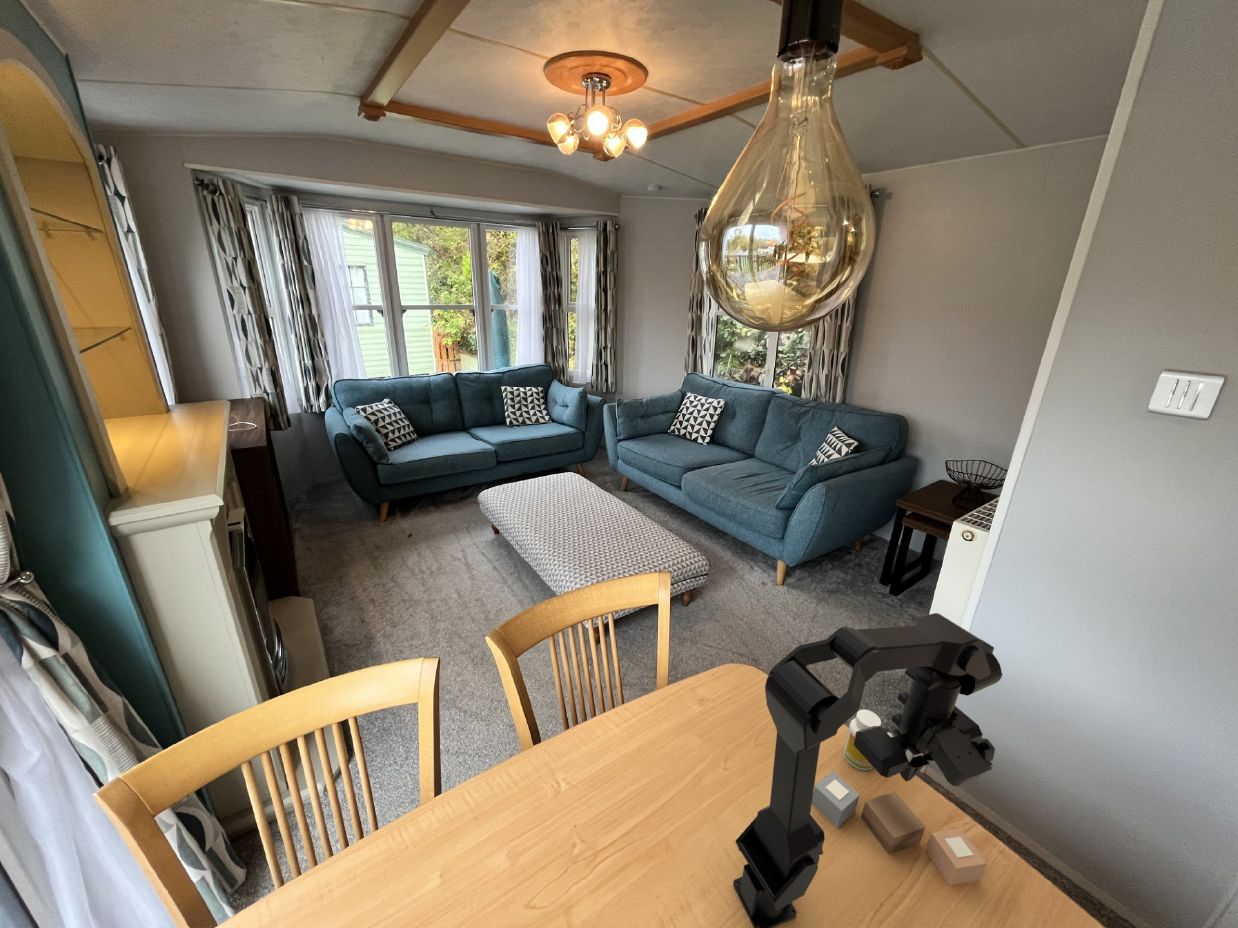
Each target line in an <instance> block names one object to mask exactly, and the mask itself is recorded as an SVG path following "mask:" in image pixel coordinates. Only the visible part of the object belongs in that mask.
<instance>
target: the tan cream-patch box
mask: <svg viewBox="0 0 1238 928" xmlns="http://www.w3.org/2000/svg"><path fill="white" fill-rule="evenodd" d="M925 852H926V853H927V854H928V856H929V857H930V859H931V860H932V861H933V863H934V865H935V867H936V868H937V870H938V871H939V872H940V874H941V875H942V876H943V878H944V880H945V881H946V883H947V884H948V886H950V887H951V886H957V885H964V884H967V883H968V884H969V883H976V882H981V879H982V877H983V874H984V872H985V869H986V867H987V864H988V862H987V861H986V860H985V858H984V857H983V856H982V855H981V853H980V852H979V851H978V849H977V848H976V847H975V845H974V844H973V843H972V842H971V839H969V837H968V836H967V835H966V833H964V831H963V829H962V828H960V827H959V828H954V829H947V830H940V831H934V832H930V835H929V839H928V841H927V845H926V847H925Z"/></svg>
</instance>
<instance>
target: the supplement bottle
mask: <svg viewBox="0 0 1238 928" xmlns="http://www.w3.org/2000/svg"><path fill="white" fill-rule="evenodd" d="M872 726H881V727H882V720H881V718H880V716H878V714H877V713H875V712H874V711H871V710H868V709H859V710H858V711H857V712H856V716H855V718H853V719H851V721H850V723H849V726H848V730H847V733H846V734H847V735H846V737H845V741H844V746H843V756H844V758H845V760H846V761H847V763H848V764H849V765H850V766H852V767H853V768H855V769H857V770H860V771H870V770H872V769H874V767H873V766H872V765H871V764H870V763H869V762H868V761H867V759H866V758H865V757H864V756H863V755H862V754H861V753H860V752H859V750H858V749H857V748H856V747H855V746H854V738H855V735H856V732H857V731H860V730H863V729H866V728H869V727H872Z"/></svg>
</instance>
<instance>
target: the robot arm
mask: <svg viewBox="0 0 1238 928" xmlns="http://www.w3.org/2000/svg"><path fill="white" fill-rule="evenodd" d="M916 619H917V620H916V622H915V624H914V625H912V626H896V627H893V626H892V627H879V628H877V627H876V628H875V627H874V628H873V627H872V628H859V629H858V628H853V627H849V626H847V625H843V626H842V627H840V628H838V629H837V630H835V631H834V632H833V633H832V634H831V635H829V637H827V638H826V639H822V640H817V641H814V642H810V643H806V644H800V645H798V646H796V647H795V648H794V649H793V650H792V651H790V652H789V653H788V654H787V655H786V656H784V658H782V659H781V660H780V661H779V662H777V664H775V665H774V666H773V667H772V669H770V672H769V673H768V676H767V678H766V681H765V686H764V692H765V700H766V706H767V709H768V711H769V714H770V716H771V719H772V721H773V723H774V726H775V728H776V740H775V749H774V757H773V759H774V761H773V770H772V779H771V790H770V801H769V805H767V806H765V807H763V808H761V809H760V810H758V811H757V813H756V814H757V815H756V817H755V818H754V819H753V820H752V821H751V822H750V823H749V824H748V826H747V827H746V828H745V829H744V830H743V831H742V833H741V834H740V835H739V836H738V837H737V838H736V840H735V844H736V847H737V849H738V851H739V852H740V853H741V855H742V857H743V858H744V860H745V861H746V862H747V864H744V865H743V870H742V876H740V877H738V878H735V879H734V880H733V882H732V883H733V884H732V885H733V888H734V890H735V892H736V894H737V896H738V898H739V900H740V902H741V904H742V906H743V908H744V910H745V912H746V915H747V916H748V918H749V920H750V922H751V925H752V926H753V928H758V927H759V928H775V927H777V926H779V925H781V924H784V923H785V922H788V921H791V920H793V919H795V918H796V917H797V910H796V908H795V906H794V905H793V902H795V901H797V900H798V899H800V898H802V897H803V896H805V894H806V892H807V890H808V889H809V887H810V884H811V883H812V881H813V880H814V877H815V876H816V874H817V872H818V870H819V866H818V864H819V861H820V856H821V855H824V851H823V846H824V842H825V839H826V838H825V837H826V835H825V831H824V830H823V829H822V827H821V826H820V824H819V823H818V822H817V821H816V819H815V818H814V817H813V816H812V814H811V809H812V805H813V804H812V797H813V791H814V787H815V781H816V776H817V775H816V774H817V766H818V762H819V761H818V760H819V756H820V748H821V743H822V742H825V741H826V740H829V739H830V738H832V737H834V736H836V735H837V733H838V730H839V729H840V728H841V727H842V726H843V725H844V724H845V723H846V722H847V721H849V720H850V719H851V718H852V717H853V716H855V714H857V712H858V711H859V710H860V707H861V702H862V698H863V694H864V690H865V685H866V683H867V682H868V681H869V680H870V679H871V678H872V677H873V676H875V675H876V674H877V673H879V672H888V671H896V670H897V671H898V670H904V669H905V671H904V674H905V675H906V676H907V677H909V678H910V681H909V685H908V688H907V691H904V692H900V693H898V697H897V700H898V701H899V702H900V703H901V704H902V708H901V711H900V712H899V713H895V714H893V715H892V718H891V721H892V723H894V724H895V726H897V727H898V729H893V730H891V731H888V732H887V731H886V730H885V729H884V728H883V727H882V725H881V726H872V727H869V728H866V729H863V730H860V731H857V732H856V735H855V738H854V746H855V747H856V748H857V749H858V750H859V752H860V753H861V754H862V755H863V756H864V757H865V758H866V759H867V761H868V762H869V763H870V764H871V765H872V766H873V769H874V770H875V771H876V772H877V773H878V774H879V775H880V776H881V777H884V778H886V779H888V778H891V777H893V776H896V775H899V774H900V777H901V778H902V779H903V780H904V782H909V781H911V780H912V779H914V778H915V777H916V775H918V773H919V772H920V771H921V770H922V769H923V768H924V767H925V766H927V765H929V764H930V761H931V762H935V764H936V765H937V767H938V769H939V770H940V771H941V772H942V774H943V775H944V778H945V780H946V781H947V783H949V784H950V785H951V786H953V787H959V786H962V785H964V784H967V783H970V782H972V781H974V780H976V779H977V778H979V777H980V776H982V775H983V774H985V773H987V772H989V771H991V770H992V769H993V767H992V766H993V763H992V762H993V760H994V757H995V751H996V748H995V746H994V745H993V744H992V743H991V741H990V740H989V738H983V735H984V734H983V733H982V730H981V728H980V726H979V725H980V724H978V723H976V721H974V720H973V719H972V718H970V717H969V716H968V715H967V714H966V713H964V712H963V711H962V710H961V709H960V708H958V707H957V706H956V703H957V700H958V697H959V695H963V696H966V697H967V696H971V695H973V694H974V693H975V694H976V693H977V692H980V691H982V690H983V689H986V688H989V687H991V686H993V685H996V684H997V683H998V682H1000V681H1001V679H1002V677H1003V672H1002V667H1001V664H1000V661H999V660H998V658H997V657H996V656H995V655H994V654H993V653H994V650H995V647H994V646H993V645H991V644H989V642H988V643H987V642H986V641H984V640H983V639H981V638H980V637H977V636H976V635H974V634H972V633H971V632H970V631H968V630H967V629H965V628H963V627H962V626H960V625H958V624H956V623H954V622H953V621H951V620H950V619H949V618H947V617H946V616H943V615H942V614H940V613H937V612H936V613H935V612H934V613H930V614H925V615H923V616H919V617H917V618H916ZM837 658H838V659H839V660H840V661H841V662H842V663H844V664H845V665H846V666H847V667H848V668H850V669H851V670H852V672H851V675H850V680H849V683H848V687H847V691H846V692H845V693H844V694H843V695H841V696H840V697H839V696H838V695H837V694H835V692H833V691H832V690H831V689H830V688H829V687H828V686H827V685H826V684H825V683H823V682H822V680H820V679H819V677H817V676H816V675H815V674H814V673H813V672H812V671H811V670H810V669H808V668H807V667H808V666H810V665H814V664H818V663H822V662H827V661H831V660H832V661H833V660H835V659H837Z"/></svg>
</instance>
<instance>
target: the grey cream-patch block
mask: <svg viewBox="0 0 1238 928" xmlns="http://www.w3.org/2000/svg"><path fill="white" fill-rule="evenodd" d="M860 796H861V794H860V793H859V792H858V791H856V790H855V789H854V788H853V787H852V786H851V785H850V784H848V782H846V781H845V780H844V779H843V778H841V776H839V775H838V773H836V772H835V771H831V772H829V774H827V775H826V776H825V777H824V778H823V779H821V780H820V781H818V782H817V784H814V790H813V797H812V804H811V805H813V806H814V807H815V808H816V809H817V810H818V811H819V812H820V813H821V814H822V815H823V816H824V817H826V819H828V820H829V822H831V824H833V825H834V826H835V827H836V828H839V827H840V826H841V825H842V824H843V823H844V822H845V821H847V819H849V818H850V817H851V816H852V815H853V814H854V813H855V812H856V810H857V807H858V803H859V800H860V799H859V798H860Z"/></svg>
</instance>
